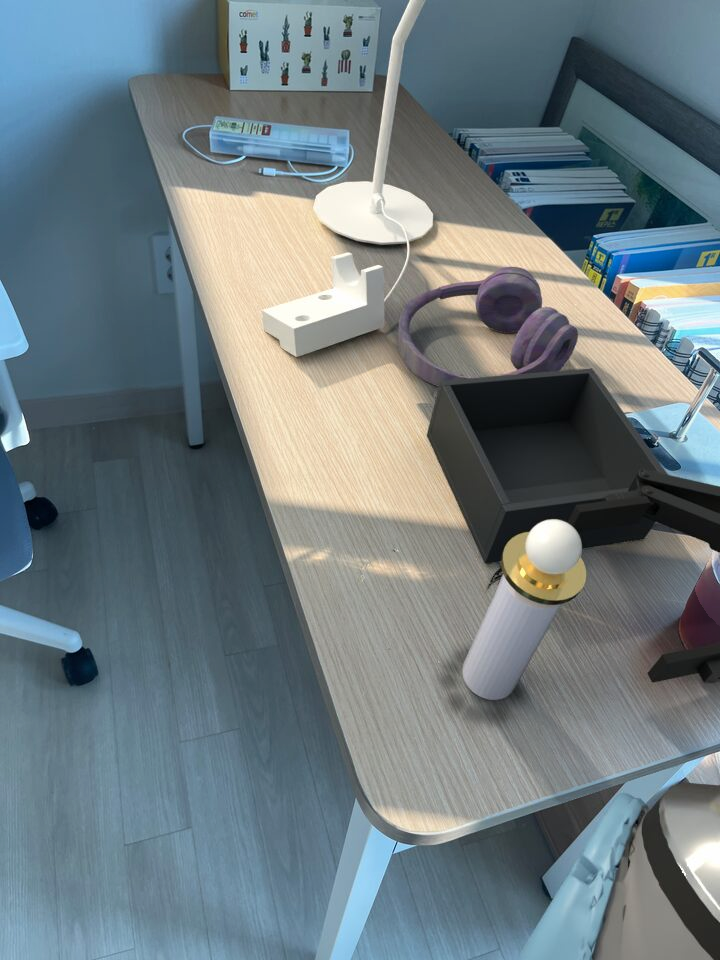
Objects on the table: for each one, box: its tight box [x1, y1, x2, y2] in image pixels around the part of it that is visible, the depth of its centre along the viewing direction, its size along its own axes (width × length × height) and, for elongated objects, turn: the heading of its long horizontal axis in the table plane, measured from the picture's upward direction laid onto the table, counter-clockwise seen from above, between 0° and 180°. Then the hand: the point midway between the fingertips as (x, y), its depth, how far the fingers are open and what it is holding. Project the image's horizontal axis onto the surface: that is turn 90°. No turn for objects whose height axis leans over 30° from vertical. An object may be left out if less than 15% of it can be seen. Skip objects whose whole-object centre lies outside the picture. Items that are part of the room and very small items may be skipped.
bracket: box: [261, 251, 385, 358], centre depth 91 cm, size 13×7×8 cm, turn 127°
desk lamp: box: [312, 0, 434, 304], centre depth 92 cm, size 37×18×45 cm, turn 14°
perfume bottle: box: [461, 519, 587, 701], centre depth 56 cm, size 6×6×20 cm
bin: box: [426, 367, 668, 565], centre depth 76 cm, size 18×18×8 cm
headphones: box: [398, 266, 579, 387], centre depth 91 cm, size 18×8×20 cm
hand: (611, 588), depth 57 cm, fingers open, 13 cm apart
